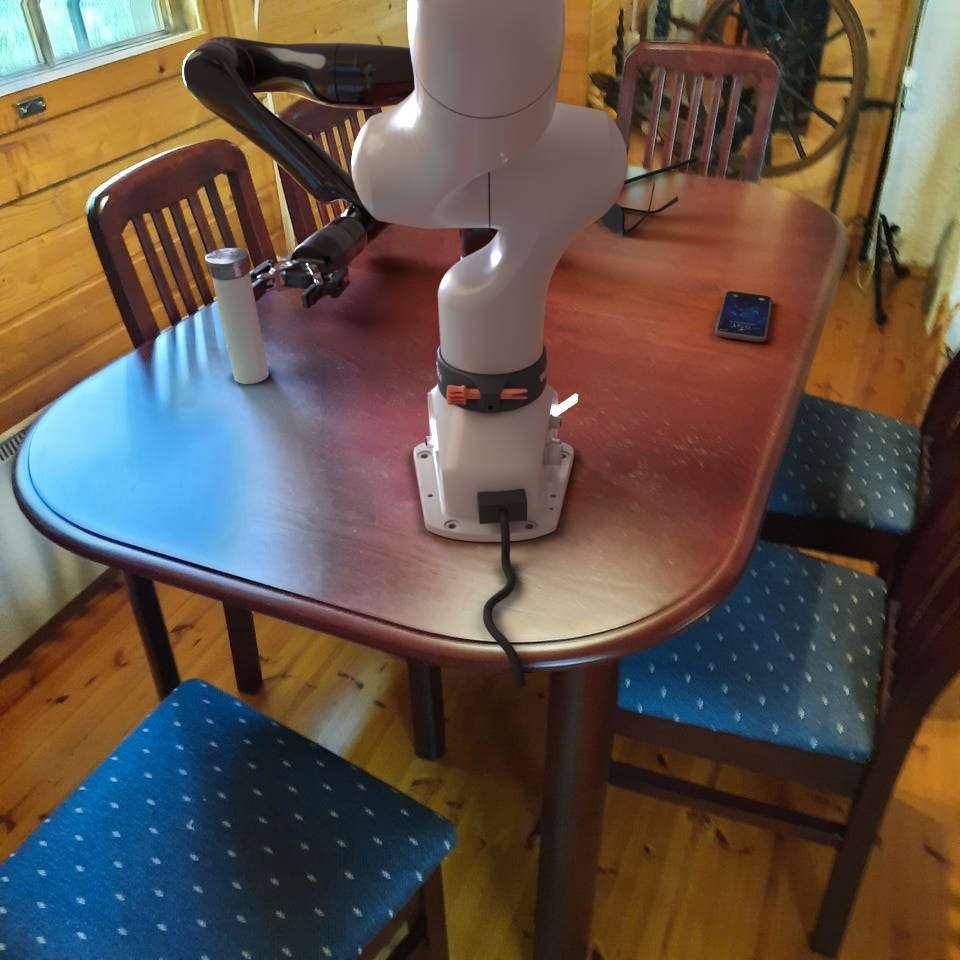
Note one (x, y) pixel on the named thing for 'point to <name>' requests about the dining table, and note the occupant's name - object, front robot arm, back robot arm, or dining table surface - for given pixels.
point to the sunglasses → (617, 216)
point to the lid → (228, 263)
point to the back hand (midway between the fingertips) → (277, 299)
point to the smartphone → (744, 316)
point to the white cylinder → (241, 328)
